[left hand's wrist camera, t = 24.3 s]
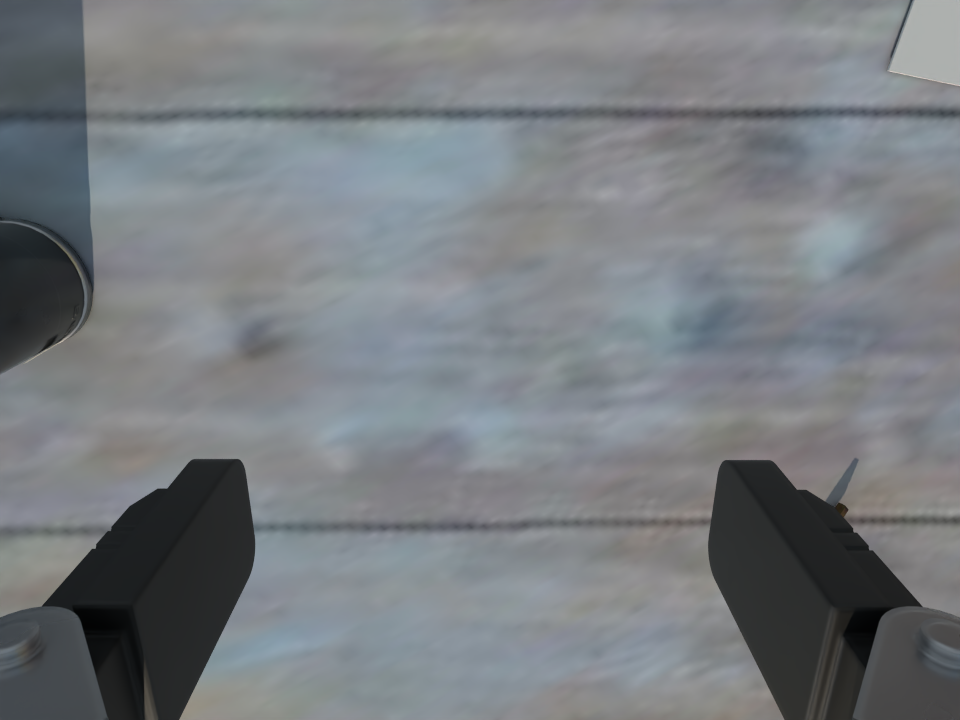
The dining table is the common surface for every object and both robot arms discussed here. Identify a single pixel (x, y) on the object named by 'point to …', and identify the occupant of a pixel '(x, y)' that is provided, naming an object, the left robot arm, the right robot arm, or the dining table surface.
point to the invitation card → (930, 42)
